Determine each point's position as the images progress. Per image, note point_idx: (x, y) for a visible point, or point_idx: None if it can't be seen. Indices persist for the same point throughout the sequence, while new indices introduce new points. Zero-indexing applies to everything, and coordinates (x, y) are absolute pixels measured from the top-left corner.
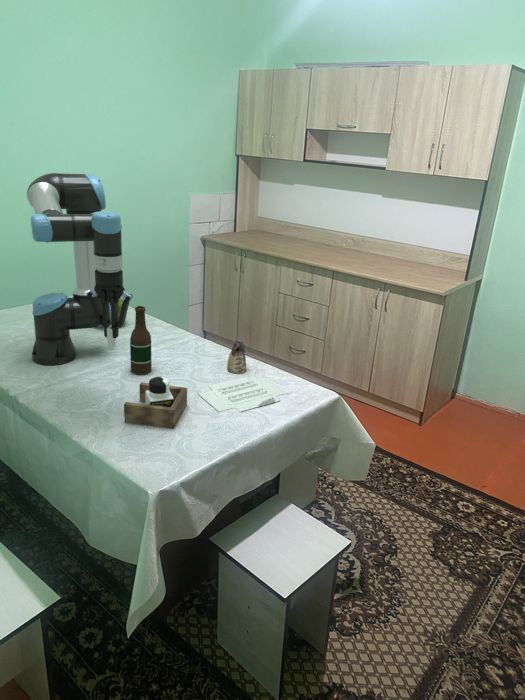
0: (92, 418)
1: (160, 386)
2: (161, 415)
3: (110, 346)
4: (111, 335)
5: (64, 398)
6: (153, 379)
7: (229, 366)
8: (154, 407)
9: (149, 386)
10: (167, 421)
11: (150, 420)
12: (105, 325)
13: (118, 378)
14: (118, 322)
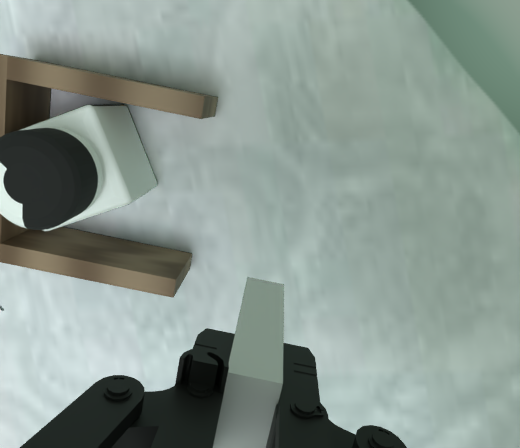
0: (338, 121)
1: (14, 131)
2: (56, 65)
3: (260, 288)
4: (240, 333)
5: (463, 265)
6: (53, 183)
7: None
8: (72, 74)
9: (81, 158)
10: (44, 62)
11: (113, 76)
12: (296, 406)
13: None
14: (119, 415)
